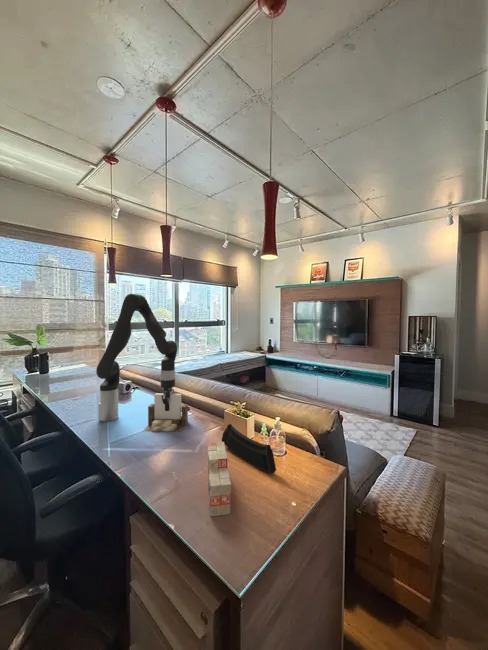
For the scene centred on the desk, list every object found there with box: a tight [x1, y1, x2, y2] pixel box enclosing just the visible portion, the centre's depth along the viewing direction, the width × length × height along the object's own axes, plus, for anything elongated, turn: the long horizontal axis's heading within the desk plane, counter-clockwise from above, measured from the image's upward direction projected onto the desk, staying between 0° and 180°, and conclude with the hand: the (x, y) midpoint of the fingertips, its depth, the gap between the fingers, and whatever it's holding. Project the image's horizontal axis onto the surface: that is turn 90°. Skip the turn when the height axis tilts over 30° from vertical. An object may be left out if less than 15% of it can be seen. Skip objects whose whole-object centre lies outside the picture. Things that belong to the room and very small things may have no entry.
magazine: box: [221, 423, 277, 474], centre depth 110 cm, size 17×3×30 cm
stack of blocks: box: [206, 441, 232, 517], centre depth 89 cm, size 21×6×12 cm, turn 10°
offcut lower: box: [150, 424, 177, 432], centre depth 138 cm, size 12×4×2 cm, turn 88°
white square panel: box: [153, 392, 182, 420], centre depth 144 cm, size 14×2×14 cm, turn 87°
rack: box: [142, 403, 189, 433], centre depth 141 cm, size 20×14×11 cm
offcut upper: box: [152, 420, 172, 427], centre depth 138 cm, size 9×4×2 cm, turn 88°
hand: (167, 409), depth 144 cm, fingers closed on white square panel, 2 cm apart
